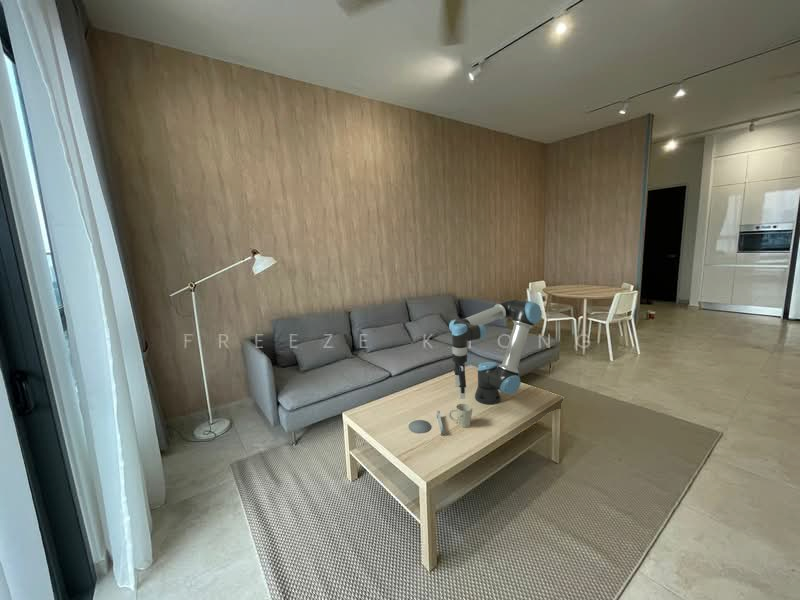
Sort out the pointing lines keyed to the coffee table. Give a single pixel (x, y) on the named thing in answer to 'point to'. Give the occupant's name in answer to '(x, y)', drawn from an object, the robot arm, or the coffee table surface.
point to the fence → (440, 423)
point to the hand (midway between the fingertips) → (459, 392)
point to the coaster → (419, 426)
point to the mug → (463, 414)
